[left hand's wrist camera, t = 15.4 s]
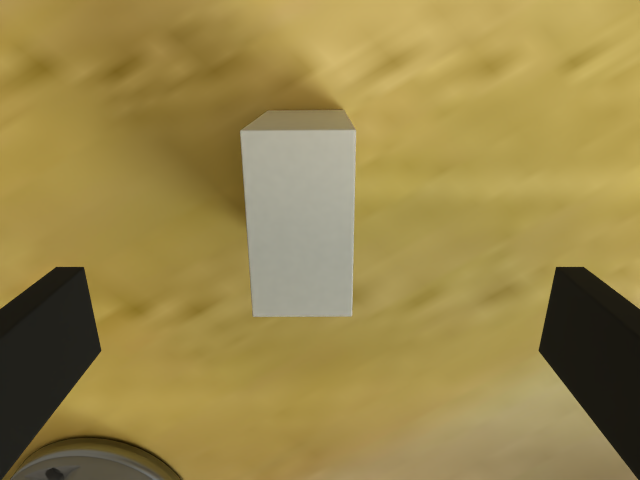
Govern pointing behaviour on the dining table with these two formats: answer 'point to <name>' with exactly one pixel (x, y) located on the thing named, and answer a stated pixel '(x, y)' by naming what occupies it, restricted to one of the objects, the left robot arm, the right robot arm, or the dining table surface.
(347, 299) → the brick
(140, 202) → the dining table surface
